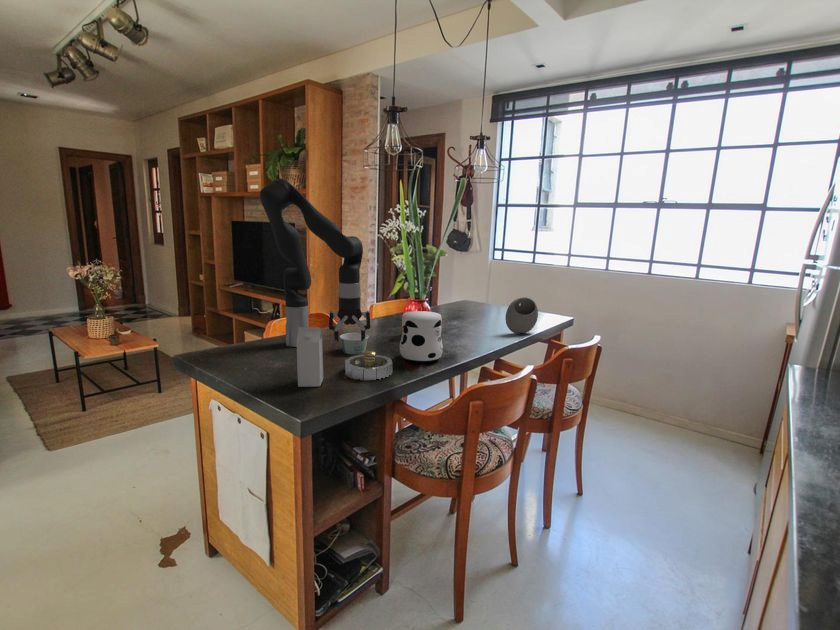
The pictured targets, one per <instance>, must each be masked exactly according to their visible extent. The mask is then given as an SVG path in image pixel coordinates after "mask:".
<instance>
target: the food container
mask: <svg viewBox="0 0 840 630" xmlns="http://www.w3.org/2000/svg"><path fill="white" fill-rule="evenodd" d="M369 337H370V336H369V335H368V334H366V333H365V339H363V341H361V332H348V333H343V334H341V335H339V339H340V341H341V347H342V352H343V353H344V354H346V353H347V354H348V355H362V354H364V352H365V351H367V350H366V349H367V345H368V344H367V343H368V338H369Z"/></svg>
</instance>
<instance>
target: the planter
mask: <svg viewBox="0 0 840 630" xmlns="http://www.w3.org/2000/svg"><path fill="white" fill-rule="evenodd" d="M538 318H539V310H538V306H537V303H536V302H535V301H534V299H532V298H529V297H525V296H524V297H523V296H522V297H517V298H516V299H514V300H513V301H511V303H510V304H509V306H508V307H507V309H506V312H505V324H506V327H507V329H508V330H509V331H510V332H512V333H513V334H516V333H518V334H517V335H521V334H520V333H524V334H526V333H529V332H530V331H532V329H533V328H534V327H535V325H536V324H537V321H538Z"/></svg>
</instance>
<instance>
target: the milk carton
mask: <svg viewBox="0 0 840 630" xmlns="http://www.w3.org/2000/svg"><path fill="white" fill-rule="evenodd" d="M321 329H322V328H321V327H320V326H319V327H318V326H317V327H315V326H313V327H298V336H297V347H296V362H297V363H296V365H297V371H296V372H297V387H298V388H299V387H307V388H308V387H309V388H310V387H312V388H313V387H315V388H316V387H321V384H322V382H323V380H324V362H323V361H324V359H323V358H324V356H323V355H324V352H323V350H324V349H323V343H324V342H323V333H322V330H321Z"/></svg>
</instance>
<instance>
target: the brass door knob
mask: <svg viewBox="0 0 840 630" xmlns="http://www.w3.org/2000/svg"><path fill="white" fill-rule="evenodd" d="M376 353H377V352H376V351H375V350H365V352H364V353H363V355H364V366H362V367H363V368H372V367H376V355H377V354H376Z"/></svg>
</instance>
